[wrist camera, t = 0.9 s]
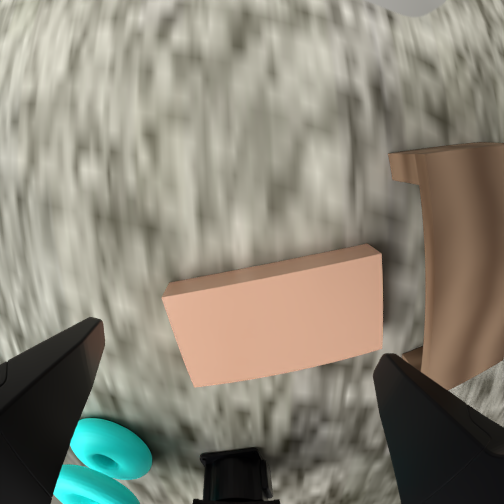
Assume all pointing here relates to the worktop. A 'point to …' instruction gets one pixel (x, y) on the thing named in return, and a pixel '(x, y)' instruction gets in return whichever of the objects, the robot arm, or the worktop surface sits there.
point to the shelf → (459, 257)
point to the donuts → (102, 464)
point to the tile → (278, 315)
